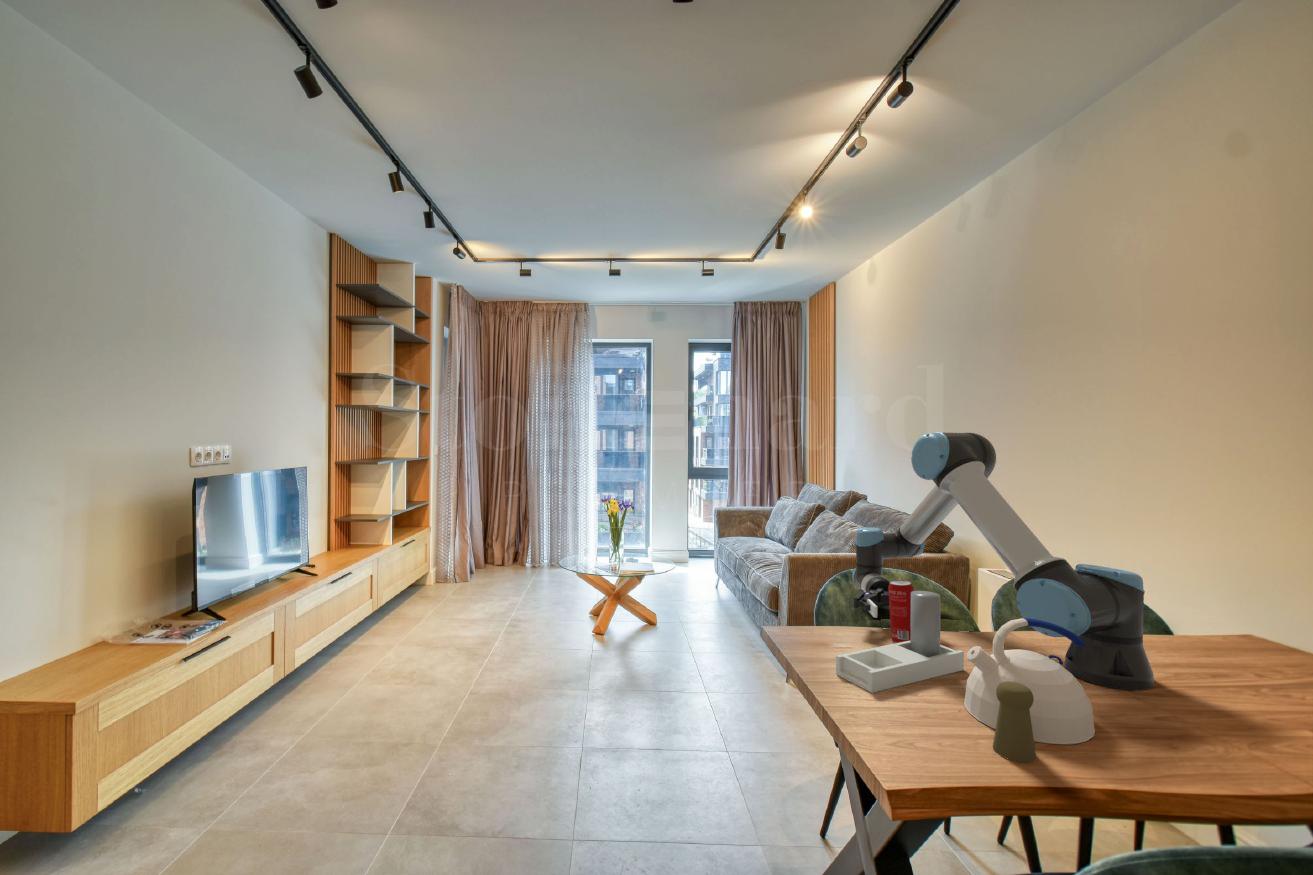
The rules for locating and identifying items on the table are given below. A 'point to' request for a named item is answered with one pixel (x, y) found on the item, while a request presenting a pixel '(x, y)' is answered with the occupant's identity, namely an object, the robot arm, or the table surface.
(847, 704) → the table surface
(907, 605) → the beverage can
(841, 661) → the can rail
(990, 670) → the kettle
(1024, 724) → the cork
